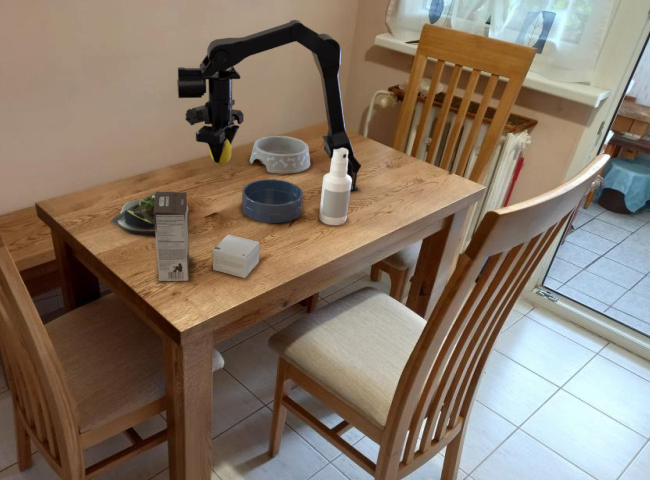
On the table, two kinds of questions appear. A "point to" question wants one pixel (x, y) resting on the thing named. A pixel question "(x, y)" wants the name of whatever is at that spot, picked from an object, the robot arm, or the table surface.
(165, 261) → the coffee box
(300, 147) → the dog bowl
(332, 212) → the spray bottle
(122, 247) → the table surface
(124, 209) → the salad plate
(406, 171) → the table surface
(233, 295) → the table surface
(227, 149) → the lemon
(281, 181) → the bowl
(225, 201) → the table surface
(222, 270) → the small box
